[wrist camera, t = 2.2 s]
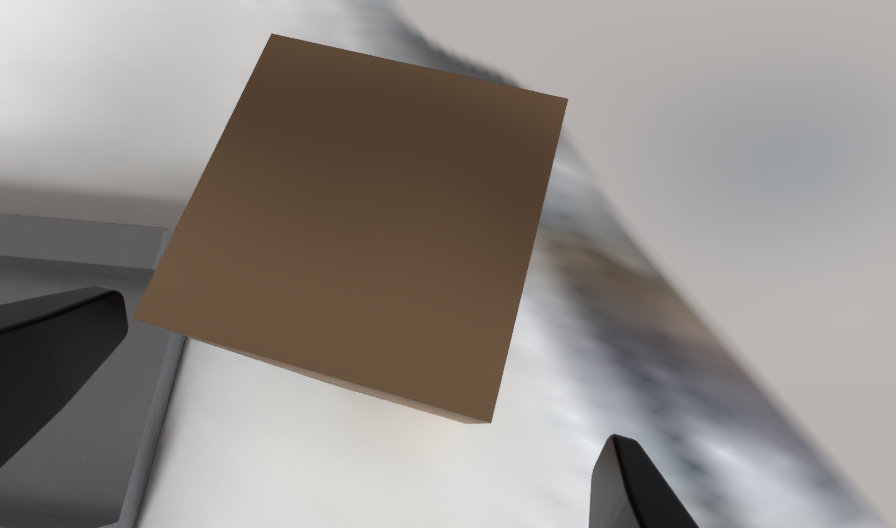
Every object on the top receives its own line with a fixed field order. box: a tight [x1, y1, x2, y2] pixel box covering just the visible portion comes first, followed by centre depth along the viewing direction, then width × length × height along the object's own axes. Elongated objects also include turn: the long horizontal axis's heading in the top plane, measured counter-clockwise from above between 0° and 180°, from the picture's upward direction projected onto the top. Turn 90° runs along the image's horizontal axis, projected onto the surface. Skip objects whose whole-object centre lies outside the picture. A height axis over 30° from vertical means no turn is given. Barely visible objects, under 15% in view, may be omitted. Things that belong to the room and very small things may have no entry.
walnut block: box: [132, 34, 568, 424], centre depth 13 cm, size 5×5×12 cm
